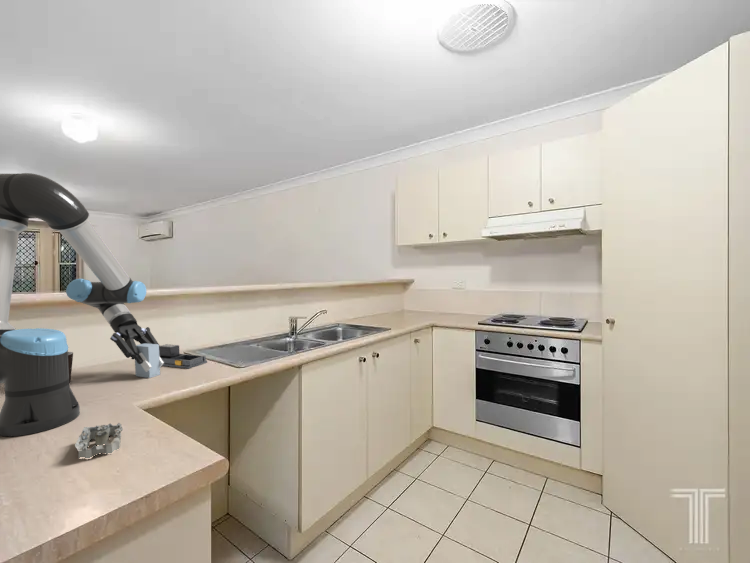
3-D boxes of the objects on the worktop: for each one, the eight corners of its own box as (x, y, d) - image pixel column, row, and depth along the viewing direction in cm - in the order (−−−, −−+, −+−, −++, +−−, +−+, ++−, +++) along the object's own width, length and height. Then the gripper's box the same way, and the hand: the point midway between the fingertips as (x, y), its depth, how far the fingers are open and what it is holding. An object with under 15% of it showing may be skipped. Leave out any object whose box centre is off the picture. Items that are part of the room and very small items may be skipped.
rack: (188, 368, 132) (187, 350, 132) (148, 364, 140) (148, 347, 139) (207, 362, 141) (206, 345, 140) (168, 358, 148) (168, 342, 148)
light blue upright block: (149, 378, 122) (148, 346, 121) (135, 376, 124) (134, 345, 124) (160, 374, 126) (158, 344, 125) (146, 372, 128) (145, 343, 128)
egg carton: (119, 454, 73) (118, 435, 73) (72, 465, 69) (71, 445, 69) (125, 433, 82) (124, 416, 82) (84, 442, 78) (83, 424, 78)
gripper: (138, 322, 138) (171, 367, 133) (90, 330, 121) (126, 381, 117) (147, 309, 135) (181, 354, 131) (100, 315, 119) (136, 367, 115)
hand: (155, 367), depth 124 cm, fingers closed on light blue upright block, 4 cm apart
